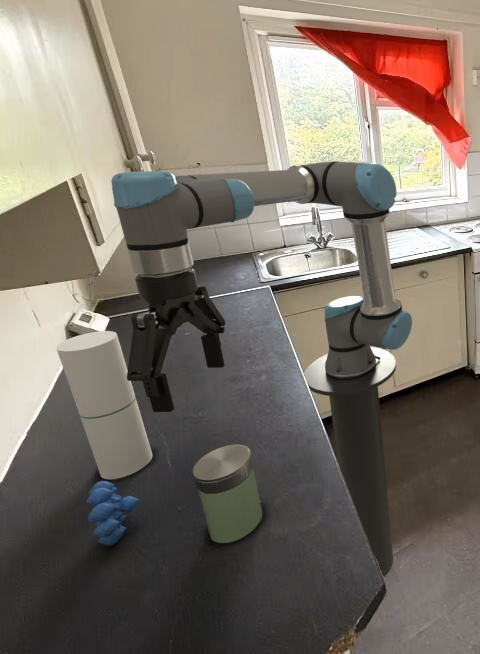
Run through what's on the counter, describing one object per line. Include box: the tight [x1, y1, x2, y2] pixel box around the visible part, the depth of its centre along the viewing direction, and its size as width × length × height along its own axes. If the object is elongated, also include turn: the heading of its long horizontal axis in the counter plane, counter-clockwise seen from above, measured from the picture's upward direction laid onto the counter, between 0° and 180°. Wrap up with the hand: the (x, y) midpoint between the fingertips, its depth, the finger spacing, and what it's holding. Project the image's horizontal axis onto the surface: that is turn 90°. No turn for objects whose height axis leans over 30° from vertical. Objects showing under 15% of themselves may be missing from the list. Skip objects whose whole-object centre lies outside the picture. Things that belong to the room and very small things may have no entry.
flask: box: [197, 468, 264, 544], centre depth 77 cm, size 8×8×14 cm
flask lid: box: [192, 444, 254, 494], centre depth 75 cm, size 8×8×3 cm
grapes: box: [85, 480, 141, 546], centre depth 74 cm, size 12×7×12 cm, turn 42°
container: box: [55, 330, 153, 480], centre depth 87 cm, size 9×9×30 cm
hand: (192, 386), depth 74 cm, fingers open, 13 cm apart
